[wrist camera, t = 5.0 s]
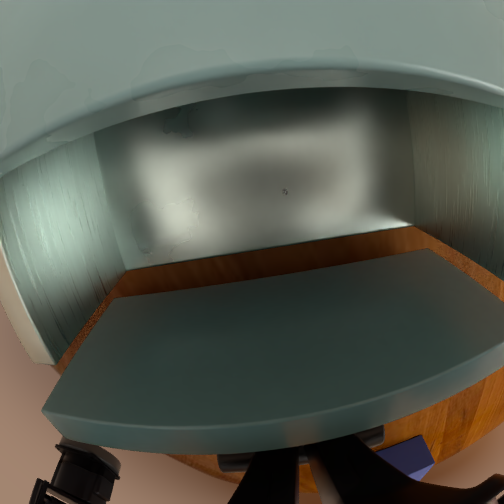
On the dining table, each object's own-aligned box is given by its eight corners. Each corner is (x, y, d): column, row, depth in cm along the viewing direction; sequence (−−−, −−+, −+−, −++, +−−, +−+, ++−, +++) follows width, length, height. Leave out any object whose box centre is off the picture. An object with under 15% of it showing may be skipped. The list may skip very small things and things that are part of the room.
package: (408, 455, 19) (419, 480, 15) (344, 477, 19) (351, 505, 16) (421, 434, 17) (435, 462, 14) (349, 459, 17) (359, 492, 14)
